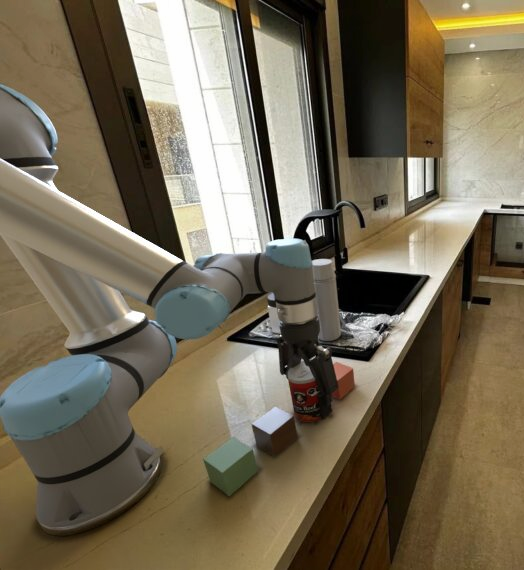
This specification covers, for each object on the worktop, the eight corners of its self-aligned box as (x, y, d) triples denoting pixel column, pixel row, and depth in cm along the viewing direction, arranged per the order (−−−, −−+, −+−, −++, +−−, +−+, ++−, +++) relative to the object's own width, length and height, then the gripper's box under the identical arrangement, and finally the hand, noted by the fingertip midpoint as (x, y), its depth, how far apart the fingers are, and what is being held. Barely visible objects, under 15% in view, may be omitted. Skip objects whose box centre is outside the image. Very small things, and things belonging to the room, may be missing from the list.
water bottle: (325, 329, 109) (317, 257, 99) (346, 333, 106) (339, 259, 97) (308, 343, 100) (297, 266, 91) (330, 347, 98) (321, 269, 89)
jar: (297, 333, 106) (292, 299, 102) (270, 336, 104) (263, 301, 100) (300, 320, 114) (296, 289, 110) (275, 323, 112) (270, 291, 108)
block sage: (210, 482, 57) (202, 459, 55) (239, 458, 62) (233, 436, 60) (229, 496, 55) (222, 473, 53) (258, 471, 60) (252, 448, 57)
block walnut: (256, 445, 65) (251, 423, 63) (279, 426, 69) (275, 406, 67) (274, 456, 62) (270, 434, 60) (297, 436, 67) (294, 415, 65)
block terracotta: (322, 392, 80) (320, 373, 78) (338, 379, 84) (336, 361, 82) (339, 399, 77) (337, 380, 75) (354, 386, 82) (353, 368, 80)
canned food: (287, 420, 71) (279, 378, 67) (307, 395, 78) (300, 356, 74) (319, 426, 69) (313, 383, 65) (336, 400, 76) (332, 360, 72)
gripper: (248, 313, 66) (267, 402, 75) (323, 338, 57) (335, 436, 66) (279, 300, 73) (294, 384, 81) (351, 321, 64) (359, 413, 72)
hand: (312, 407), depth 73 cm, fingers closed on canned food, 8 cm apart
